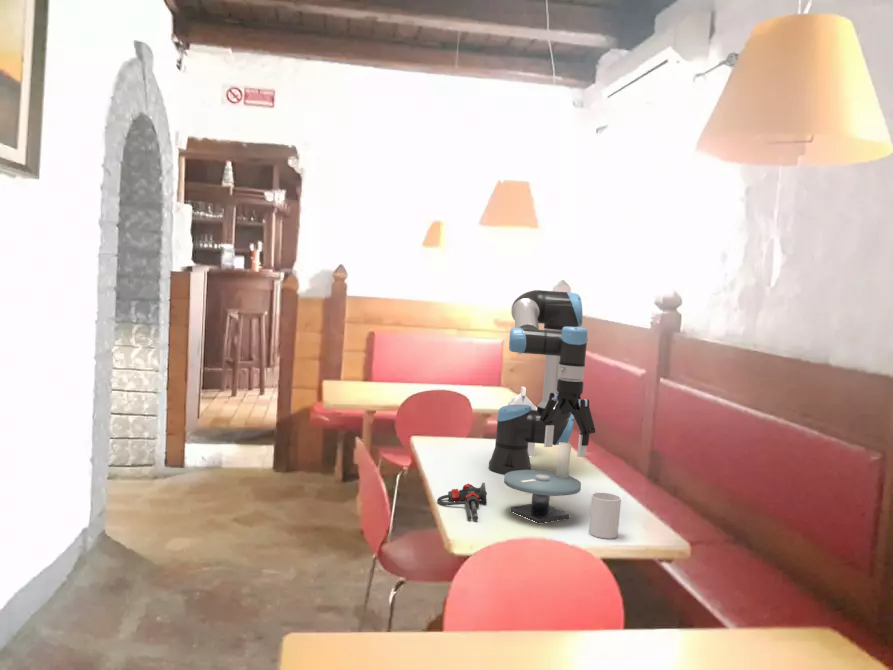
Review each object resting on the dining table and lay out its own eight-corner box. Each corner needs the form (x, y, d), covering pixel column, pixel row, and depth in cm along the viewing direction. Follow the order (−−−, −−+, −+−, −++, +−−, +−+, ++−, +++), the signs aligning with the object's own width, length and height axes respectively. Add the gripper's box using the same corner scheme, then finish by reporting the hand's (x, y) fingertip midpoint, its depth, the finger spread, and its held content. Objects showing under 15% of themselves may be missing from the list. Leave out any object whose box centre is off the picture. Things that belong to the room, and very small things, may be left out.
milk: (534, 457, 301) (539, 390, 300) (504, 454, 302) (510, 388, 300) (531, 450, 313) (536, 386, 312) (502, 448, 313) (508, 384, 312)
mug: (622, 539, 208) (625, 501, 207) (593, 538, 207) (597, 500, 206) (606, 524, 220) (609, 488, 219) (579, 524, 219) (582, 487, 218)
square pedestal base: (510, 512, 225) (512, 482, 225) (540, 507, 233) (542, 478, 232) (538, 524, 216) (541, 493, 215) (568, 518, 223) (571, 488, 222)
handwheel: (540, 499, 208) (544, 456, 207) (488, 479, 226) (491, 439, 225) (596, 491, 221) (600, 451, 221) (543, 472, 239) (546, 435, 238)
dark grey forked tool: (437, 500, 240) (485, 496, 240) (439, 531, 214) (493, 527, 214) (436, 480, 239) (484, 476, 239) (437, 509, 213) (491, 504, 214)
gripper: (532, 374, 234) (526, 443, 235) (593, 386, 214) (587, 461, 215) (549, 374, 238) (544, 442, 240) (611, 385, 219) (605, 459, 220)
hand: (564, 451), depth 228 cm, fingers open, 13 cm apart
